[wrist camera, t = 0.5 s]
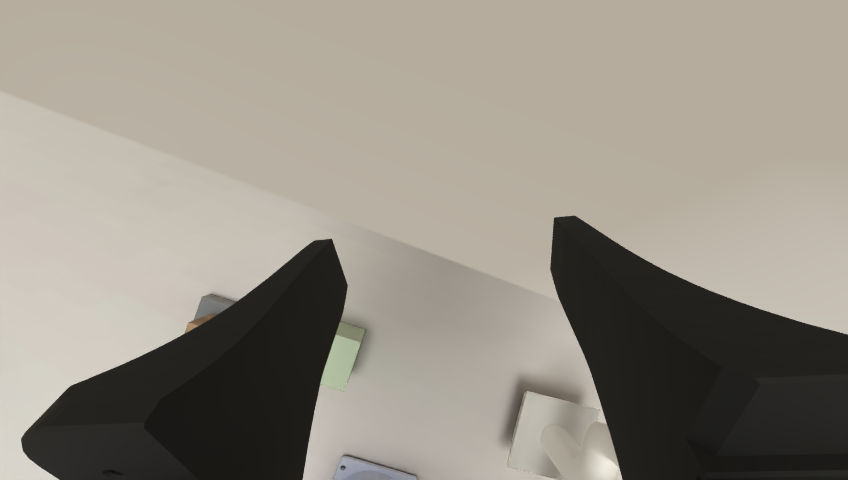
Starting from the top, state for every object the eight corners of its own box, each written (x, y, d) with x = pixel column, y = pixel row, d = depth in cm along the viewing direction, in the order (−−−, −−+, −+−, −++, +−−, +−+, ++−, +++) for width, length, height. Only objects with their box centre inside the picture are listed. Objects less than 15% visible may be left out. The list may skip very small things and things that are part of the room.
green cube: (351, 372, 35) (344, 391, 31) (307, 359, 35) (293, 376, 31) (365, 329, 36) (360, 342, 31) (322, 315, 35) (311, 326, 31)
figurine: (493, 454, 36) (558, 605, 21) (517, 365, 37) (599, 452, 22) (559, 470, 37) (668, 628, 22) (582, 382, 37) (707, 479, 22)
